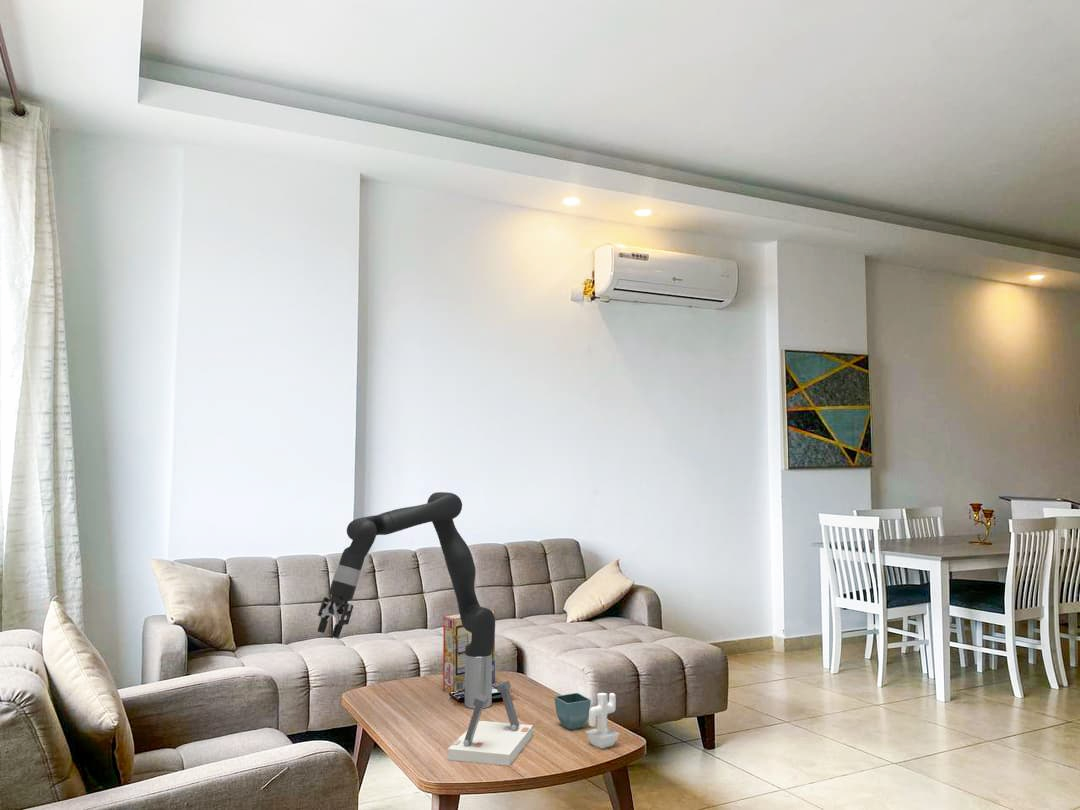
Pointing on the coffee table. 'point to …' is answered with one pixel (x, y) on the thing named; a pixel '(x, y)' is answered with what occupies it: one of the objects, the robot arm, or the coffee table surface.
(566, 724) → the flower pot
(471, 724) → the lever
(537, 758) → the coffee table surface
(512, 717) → the lever
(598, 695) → the figurine
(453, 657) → the board game box
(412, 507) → the robot arm
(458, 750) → the switch base
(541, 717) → the coffee table surface
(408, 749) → the coffee table surface
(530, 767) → the coffee table surface
